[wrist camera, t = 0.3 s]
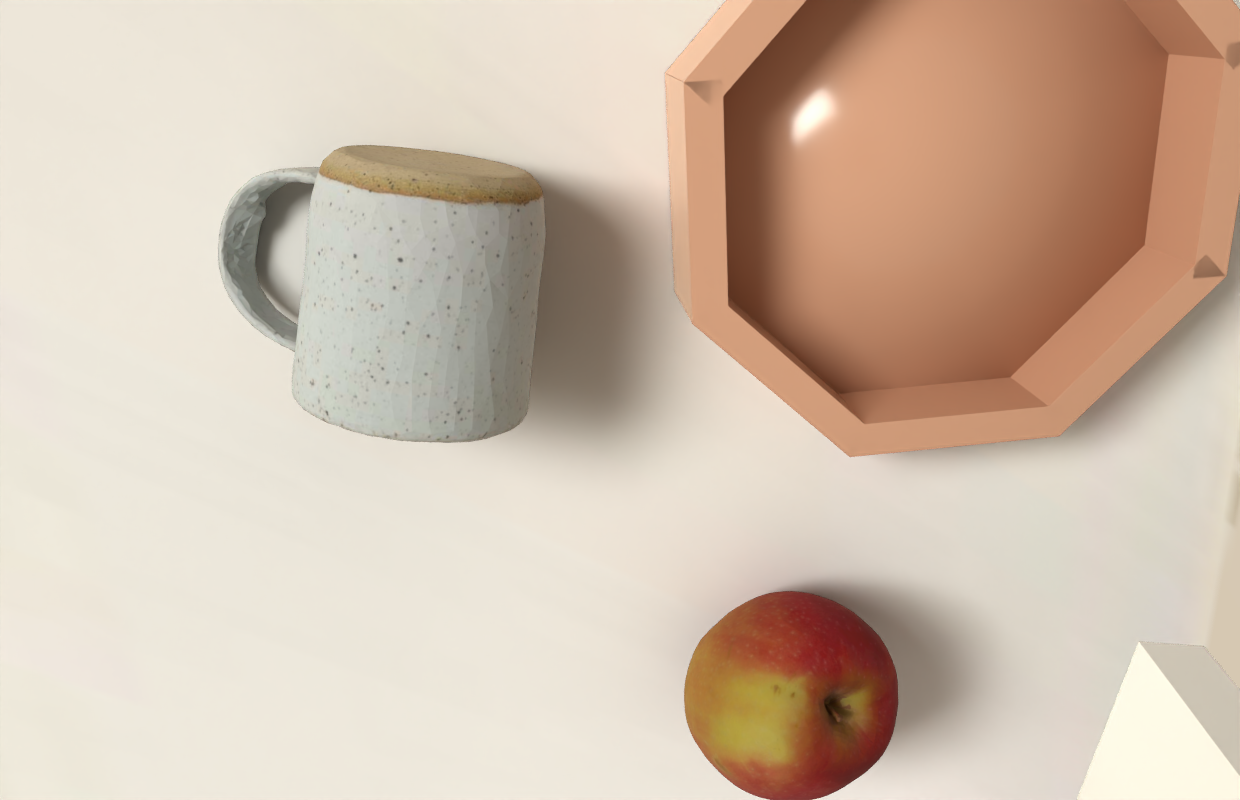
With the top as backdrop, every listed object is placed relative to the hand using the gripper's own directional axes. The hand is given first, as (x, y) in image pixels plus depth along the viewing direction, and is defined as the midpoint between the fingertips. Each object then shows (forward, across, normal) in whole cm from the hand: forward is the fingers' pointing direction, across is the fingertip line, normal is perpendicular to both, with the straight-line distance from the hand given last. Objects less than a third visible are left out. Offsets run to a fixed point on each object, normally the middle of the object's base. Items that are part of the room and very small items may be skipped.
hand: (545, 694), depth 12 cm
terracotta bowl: (+28, +12, +1) cm, 30 cm away
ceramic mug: (+26, -6, -4) cm, 27 cm away
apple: (+26, +10, -19) cm, 34 cm away
